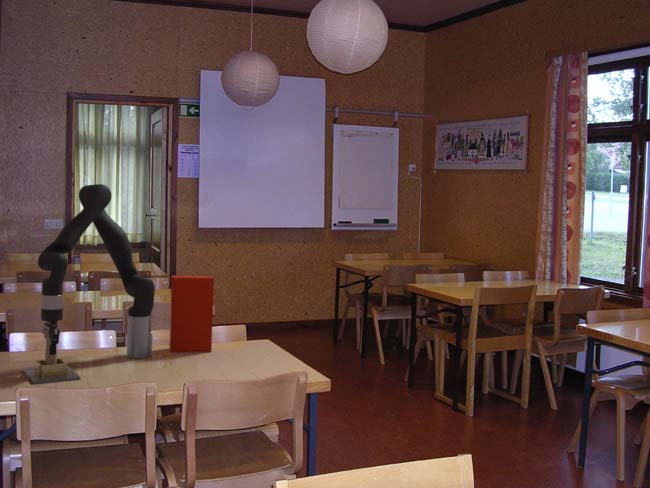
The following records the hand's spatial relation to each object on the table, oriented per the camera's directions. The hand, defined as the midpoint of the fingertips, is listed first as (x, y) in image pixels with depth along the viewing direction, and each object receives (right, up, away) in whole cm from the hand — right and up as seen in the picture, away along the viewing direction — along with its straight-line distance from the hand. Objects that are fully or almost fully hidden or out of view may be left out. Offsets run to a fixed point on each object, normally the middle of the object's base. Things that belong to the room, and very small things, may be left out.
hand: (51, 353), depth 267 cm
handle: (0, -6, 0) cm, 6 cm away
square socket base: (0, -8, +1) cm, 8 cm away
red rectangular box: (+42, -6, +50) cm, 65 cm away
